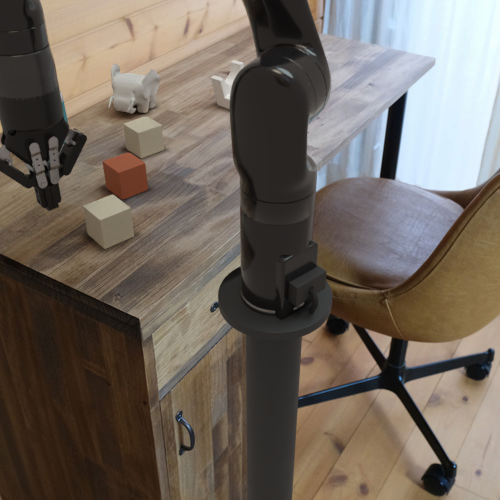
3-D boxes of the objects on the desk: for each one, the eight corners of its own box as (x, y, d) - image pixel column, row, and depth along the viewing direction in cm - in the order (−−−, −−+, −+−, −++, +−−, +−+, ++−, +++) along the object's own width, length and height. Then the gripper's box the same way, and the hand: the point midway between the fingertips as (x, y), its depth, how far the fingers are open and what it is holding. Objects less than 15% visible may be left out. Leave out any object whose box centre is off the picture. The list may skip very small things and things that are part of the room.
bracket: (218, 108, 135) (210, 77, 129) (240, 90, 138) (233, 59, 132) (266, 126, 128) (260, 94, 122) (288, 107, 131) (283, 74, 125)
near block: (134, 236, 95) (130, 207, 92) (104, 249, 93) (100, 220, 90) (116, 222, 98) (112, 194, 96) (87, 234, 96) (82, 205, 93)
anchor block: (148, 189, 106) (145, 162, 103) (122, 200, 104) (118, 172, 101) (132, 178, 109) (128, 151, 106) (106, 188, 107) (102, 161, 104)
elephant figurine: (98, 118, 129) (92, 74, 124) (130, 96, 138) (125, 55, 133) (140, 125, 126) (135, 82, 121) (169, 102, 135) (166, 61, 130)
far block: (164, 150, 118) (162, 124, 115) (141, 158, 115) (138, 132, 112) (149, 140, 121) (146, 115, 118) (126, 148, 118) (122, 123, 115)
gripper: (-17, 108, 71) (15, 237, 81) (90, 79, 78) (108, 201, 88) (-43, 87, 75) (-9, 212, 86) (61, 62, 82) (81, 180, 93)
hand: (50, 206), depth 87 cm, fingers closed
